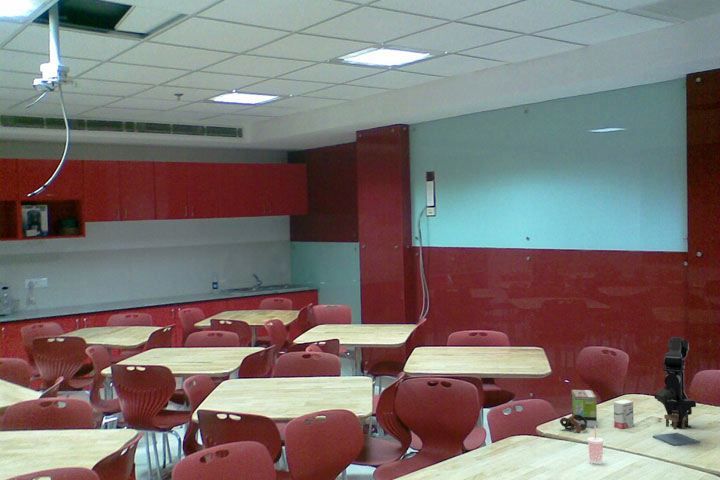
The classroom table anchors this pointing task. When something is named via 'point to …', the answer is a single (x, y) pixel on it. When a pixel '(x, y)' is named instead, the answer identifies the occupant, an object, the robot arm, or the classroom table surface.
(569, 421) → the toy cannon
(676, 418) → the walnut stool
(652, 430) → the classroom table surface
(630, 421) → the ink box
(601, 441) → the beverage cup
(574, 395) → the tea box
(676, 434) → the rubber mat
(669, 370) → the robot arm
